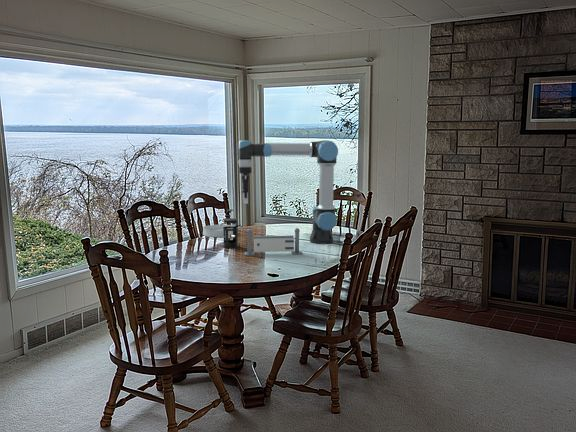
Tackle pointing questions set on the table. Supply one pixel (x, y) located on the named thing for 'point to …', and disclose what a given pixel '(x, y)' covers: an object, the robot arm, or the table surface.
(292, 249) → the grey long flat block
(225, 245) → the french press
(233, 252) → the table surface
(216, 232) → the dish
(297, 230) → the posts
